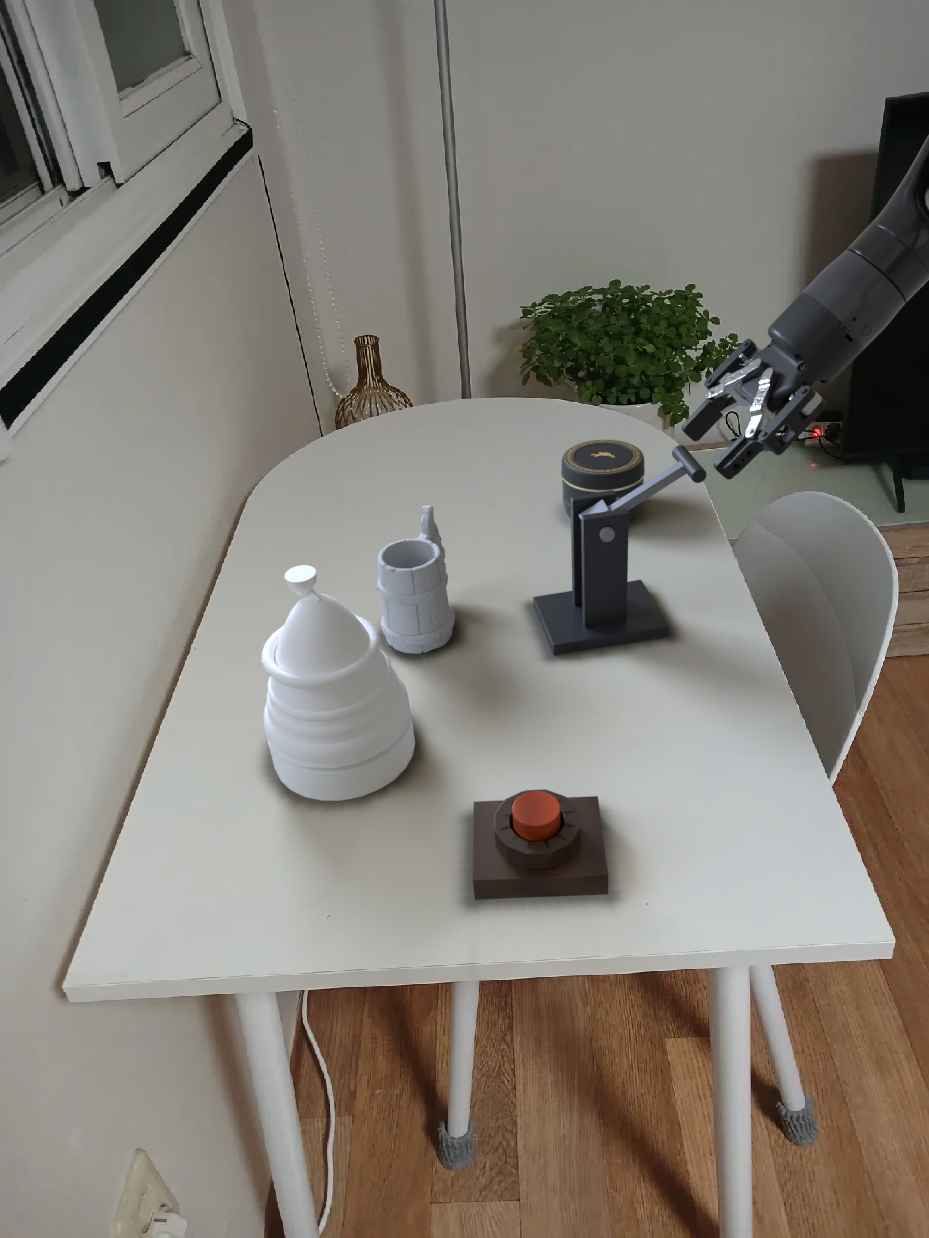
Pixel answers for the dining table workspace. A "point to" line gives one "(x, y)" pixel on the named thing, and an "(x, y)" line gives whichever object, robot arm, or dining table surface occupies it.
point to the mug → (415, 590)
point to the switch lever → (656, 482)
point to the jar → (602, 470)
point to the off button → (536, 816)
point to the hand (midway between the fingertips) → (703, 454)
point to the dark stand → (599, 587)
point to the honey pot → (333, 700)
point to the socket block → (539, 852)
